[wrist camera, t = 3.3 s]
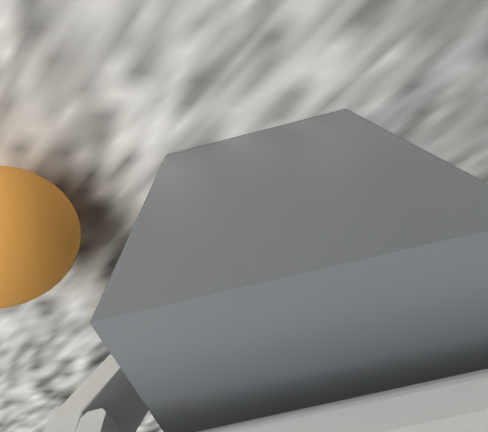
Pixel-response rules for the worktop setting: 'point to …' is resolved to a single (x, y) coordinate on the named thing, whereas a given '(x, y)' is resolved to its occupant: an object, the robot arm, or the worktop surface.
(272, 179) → the matte grey cuboid
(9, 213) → the orange ball
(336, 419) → the robot arm
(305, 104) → the worktop surface
